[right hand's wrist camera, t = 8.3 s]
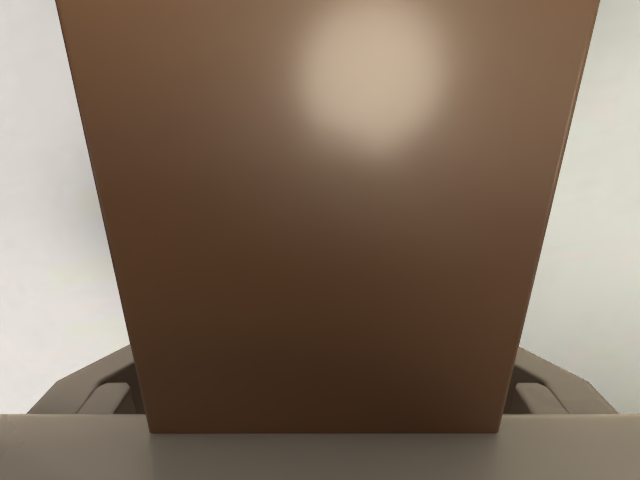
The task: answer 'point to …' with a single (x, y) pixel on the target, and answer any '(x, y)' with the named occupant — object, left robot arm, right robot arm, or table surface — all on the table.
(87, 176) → the table surface
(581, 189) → the table surface
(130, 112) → the bar
